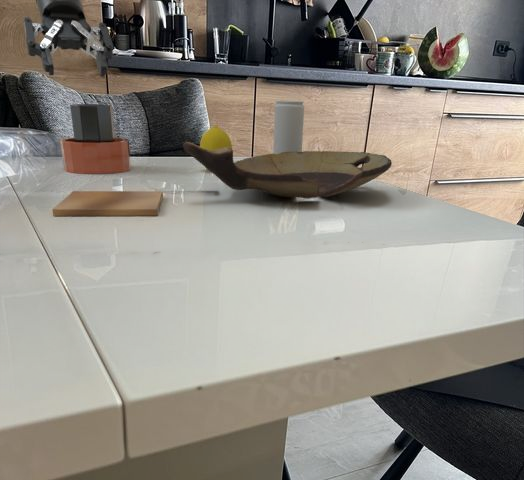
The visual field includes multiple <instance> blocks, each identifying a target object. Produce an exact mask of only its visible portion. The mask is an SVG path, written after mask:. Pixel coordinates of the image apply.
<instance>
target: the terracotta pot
mask: <svg viewBox="0 0 524 480" xmlns="http://www.w3.org/2000/svg"><path fill="white" fill-rule="evenodd" d="M59 142H60V143H59V144H60V151H61V158H62V164H63V170H64V172H66V173H70V174H77V175H111V174H121V173H126V172H127V173H128V172H130V171H131V170H132V165H131V164H132V163H131V161H132V160H131V151H130V150H131V149H130V140H129V139H128V138H123V137H115V142H104V143H82V142H75V140H74V137H66V138H62V139H60V141H59Z"/></svg>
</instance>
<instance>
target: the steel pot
mask: <svg viewBox="0 0 524 480" xmlns="http://www.w3.org/2000/svg"><path fill="white" fill-rule="evenodd" d="M69 106H70V116H71V123H72V124H71V125H72V131H73V138H74V140H75V142H82V143H104V142H115V138H116V135H115V124H114V114H113V113H114V112H113V105H112V104H103V103H101V104H100V103H97V104H96V103H91V104H90V103H73V104H70V105H69Z"/></svg>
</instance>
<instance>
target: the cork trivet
mask: <svg viewBox="0 0 524 480" xmlns="http://www.w3.org/2000/svg"><path fill="white" fill-rule="evenodd" d="M163 197H164V192H163V190H149V191H148V190H119V191H118V190H73V191H72V192H70V194H68V195H67V196H66V197H65V198H63V200H61V201H60V202H59V203H58V204H57V205H55V206H54V207H53V208H52V215H53V217H157V216H158V214H159V211H160V208H161V206H162V205H161V204H162V201H163V199H164V198H163Z"/></svg>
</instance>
